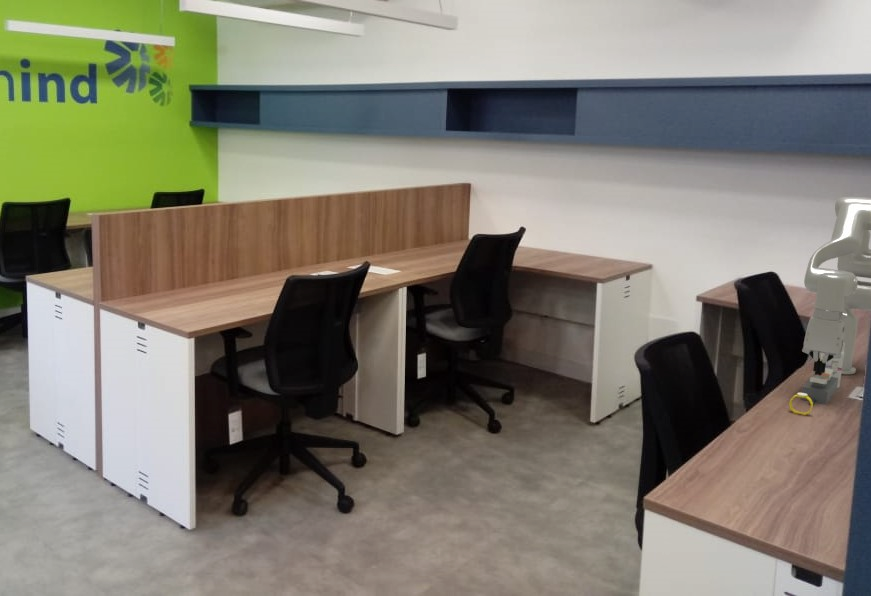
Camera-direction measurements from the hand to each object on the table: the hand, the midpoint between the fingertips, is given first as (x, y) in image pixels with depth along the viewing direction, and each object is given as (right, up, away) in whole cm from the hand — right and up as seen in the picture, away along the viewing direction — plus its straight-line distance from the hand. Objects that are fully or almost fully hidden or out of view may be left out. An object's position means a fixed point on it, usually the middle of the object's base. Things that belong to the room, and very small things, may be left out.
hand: (818, 374), depth 238 cm
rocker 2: (+1, -2, +2) cm, 4 cm away
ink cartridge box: (+12, -5, +19) cm, 23 cm away
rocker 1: (+6, -1, +10) cm, 12 cm away
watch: (-11, -10, -11) cm, 18 cm away
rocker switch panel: (+2, -7, +5) cm, 9 cm away
